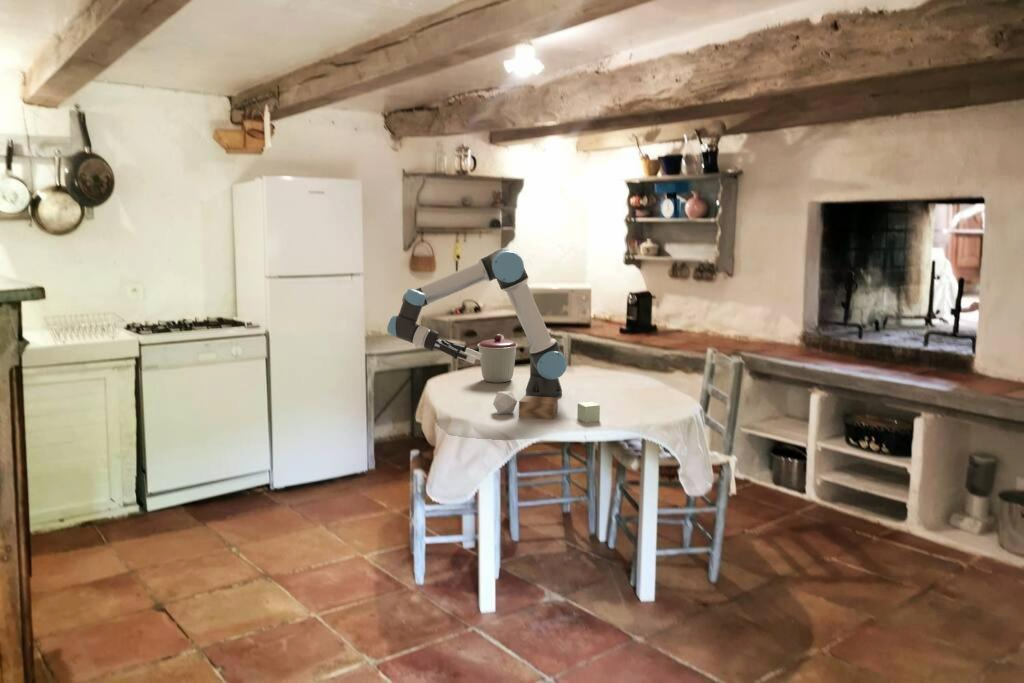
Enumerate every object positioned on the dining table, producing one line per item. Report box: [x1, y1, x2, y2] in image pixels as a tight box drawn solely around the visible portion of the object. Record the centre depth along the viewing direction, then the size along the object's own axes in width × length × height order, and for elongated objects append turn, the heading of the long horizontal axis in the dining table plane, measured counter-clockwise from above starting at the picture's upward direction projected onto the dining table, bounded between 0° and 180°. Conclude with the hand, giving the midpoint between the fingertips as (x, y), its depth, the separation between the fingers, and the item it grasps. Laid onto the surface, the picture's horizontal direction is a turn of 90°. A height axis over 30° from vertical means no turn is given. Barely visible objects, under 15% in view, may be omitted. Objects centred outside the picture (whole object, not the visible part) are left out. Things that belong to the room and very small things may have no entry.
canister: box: [477, 334, 519, 384], centre depth 356 cm, size 18×18×21 cm
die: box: [492, 390, 518, 415], centre depth 302 cm, size 8×9×10 cm
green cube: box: [576, 401, 601, 423], centre depth 293 cm, size 6×6×6 cm
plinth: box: [518, 395, 559, 420], centre depth 299 cm, size 13×9×6 cm
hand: (478, 358), depth 302 cm, fingers open, 13 cm apart
